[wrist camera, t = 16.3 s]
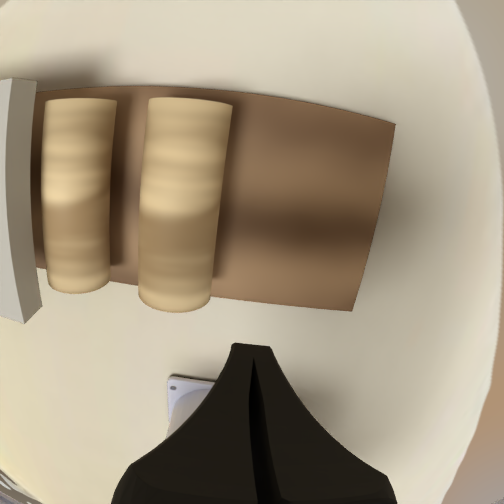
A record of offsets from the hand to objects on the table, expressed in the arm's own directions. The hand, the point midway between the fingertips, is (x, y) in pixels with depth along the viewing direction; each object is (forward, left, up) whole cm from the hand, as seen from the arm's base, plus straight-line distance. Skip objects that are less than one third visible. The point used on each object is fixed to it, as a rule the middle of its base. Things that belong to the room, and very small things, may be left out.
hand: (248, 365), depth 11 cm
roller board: (+4, +10, -9) cm, 14 cm away
